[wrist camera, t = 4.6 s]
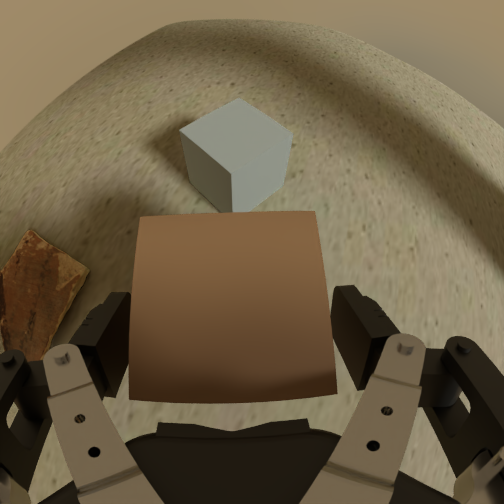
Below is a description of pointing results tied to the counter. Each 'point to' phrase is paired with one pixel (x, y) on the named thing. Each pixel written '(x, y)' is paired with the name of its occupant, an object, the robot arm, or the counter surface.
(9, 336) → the shard
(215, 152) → the grey-blue block
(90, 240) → the counter surface
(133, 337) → the walnut block
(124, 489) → the robot arm
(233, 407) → the counter surface
